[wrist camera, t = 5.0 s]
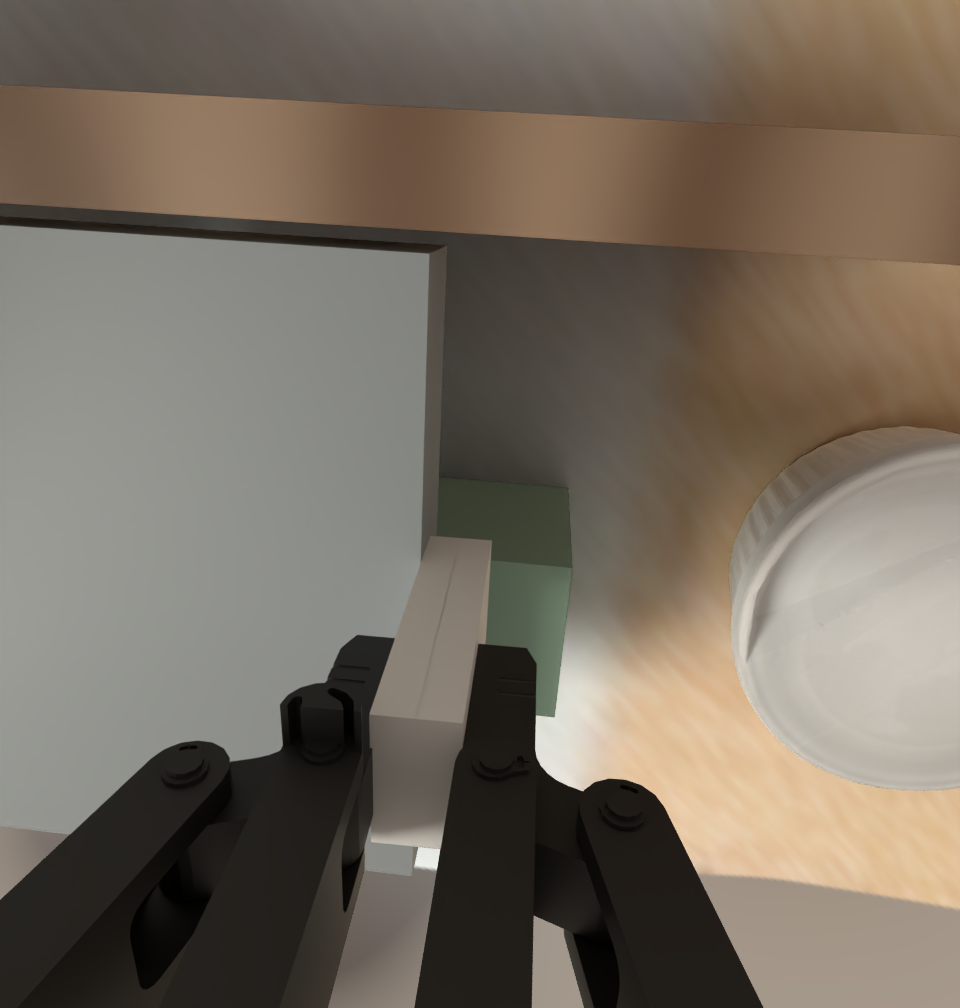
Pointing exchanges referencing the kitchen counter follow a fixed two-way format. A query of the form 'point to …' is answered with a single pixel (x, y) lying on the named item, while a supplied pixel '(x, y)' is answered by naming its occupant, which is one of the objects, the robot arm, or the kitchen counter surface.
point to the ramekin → (857, 608)
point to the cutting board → (486, 172)
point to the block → (519, 566)
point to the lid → (200, 489)
